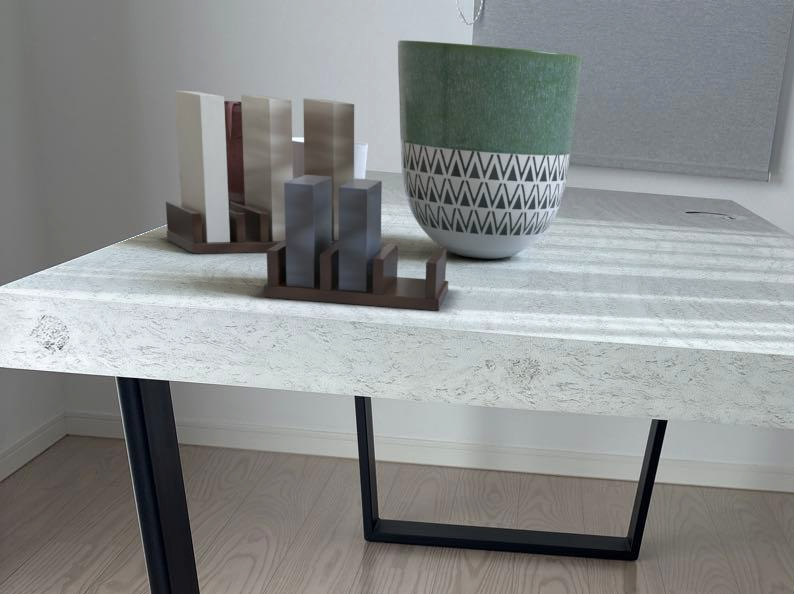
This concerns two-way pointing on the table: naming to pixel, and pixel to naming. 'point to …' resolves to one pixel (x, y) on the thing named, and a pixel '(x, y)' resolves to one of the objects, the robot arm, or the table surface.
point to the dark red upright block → (234, 151)
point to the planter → (485, 142)
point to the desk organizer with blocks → (345, 251)
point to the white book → (203, 161)
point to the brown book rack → (274, 173)
